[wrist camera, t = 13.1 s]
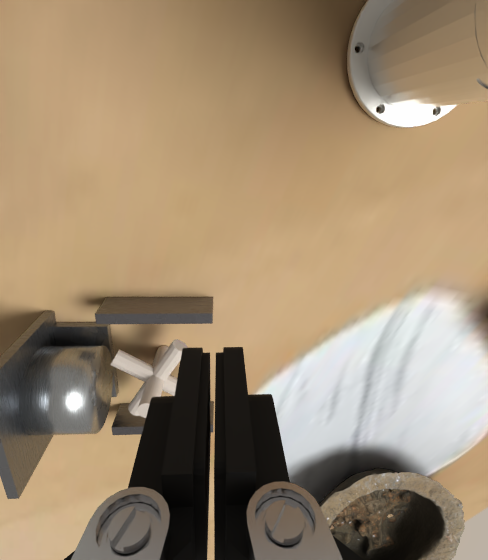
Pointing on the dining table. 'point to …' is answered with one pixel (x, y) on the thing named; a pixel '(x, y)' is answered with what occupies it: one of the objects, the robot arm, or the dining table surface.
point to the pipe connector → (151, 374)
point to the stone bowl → (395, 516)
